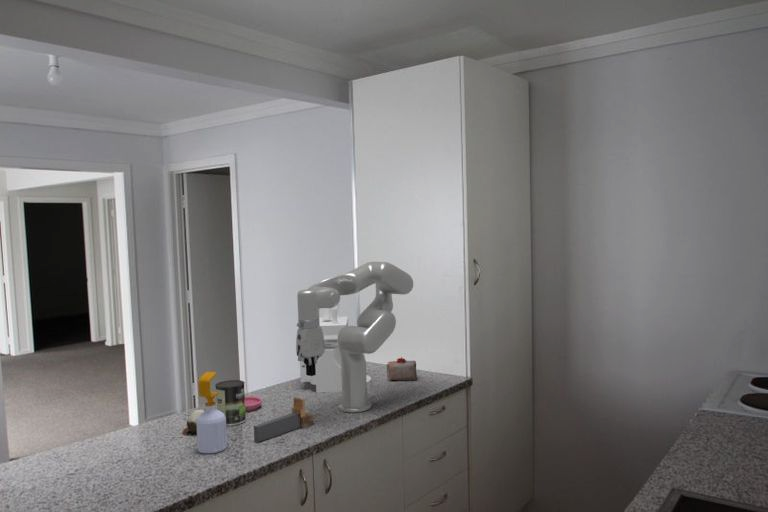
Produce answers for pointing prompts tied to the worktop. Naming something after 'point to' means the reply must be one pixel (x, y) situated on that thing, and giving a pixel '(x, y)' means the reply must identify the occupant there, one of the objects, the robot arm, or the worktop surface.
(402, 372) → the food item
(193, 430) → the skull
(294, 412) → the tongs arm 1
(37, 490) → the worktop surface
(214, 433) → the spray bottle
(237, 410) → the coffee can
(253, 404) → the saucer
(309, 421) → the block
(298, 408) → the tan wooden block
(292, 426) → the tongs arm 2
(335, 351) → the coffee machine
